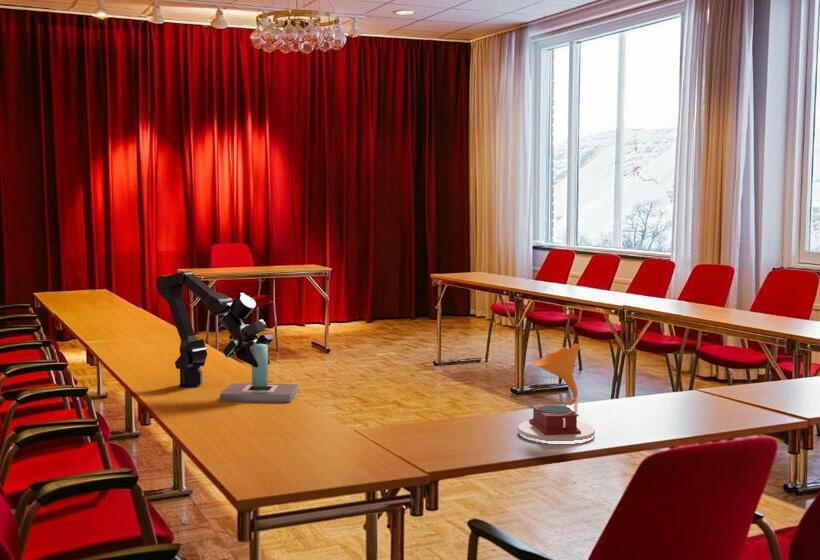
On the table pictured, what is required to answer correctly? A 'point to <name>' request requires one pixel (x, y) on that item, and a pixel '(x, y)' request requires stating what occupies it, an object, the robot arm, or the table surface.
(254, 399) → the flange plate
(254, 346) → the teal peg
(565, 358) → the gramophone
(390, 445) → the table surface
